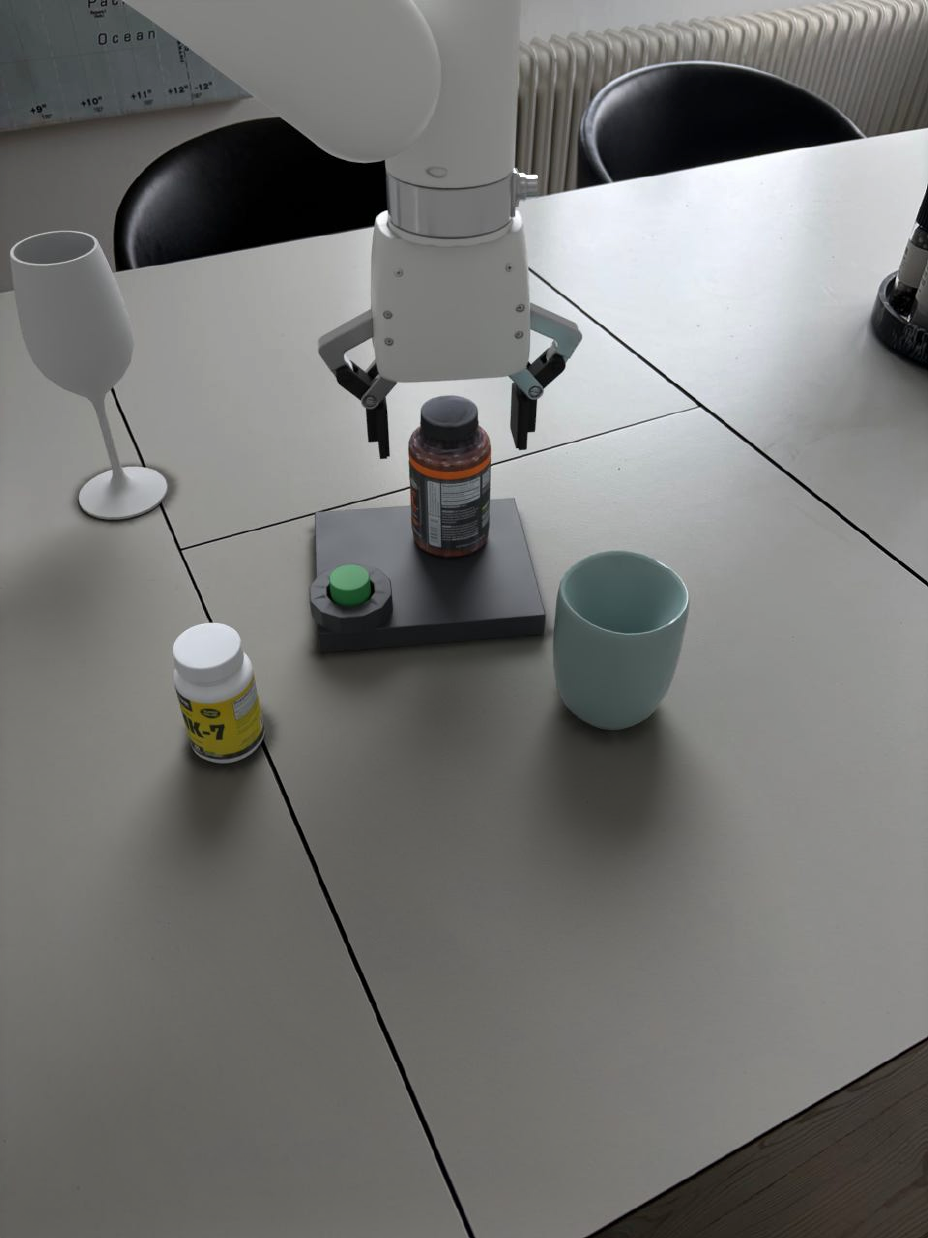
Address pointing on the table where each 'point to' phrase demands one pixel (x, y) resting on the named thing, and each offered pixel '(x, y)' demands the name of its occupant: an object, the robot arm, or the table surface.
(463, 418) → the supplement bottle
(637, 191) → the table surface
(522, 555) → the scale
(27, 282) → the wineglass
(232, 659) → the supplement bottle
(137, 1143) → the table surface
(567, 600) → the cup
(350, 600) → the tare button
